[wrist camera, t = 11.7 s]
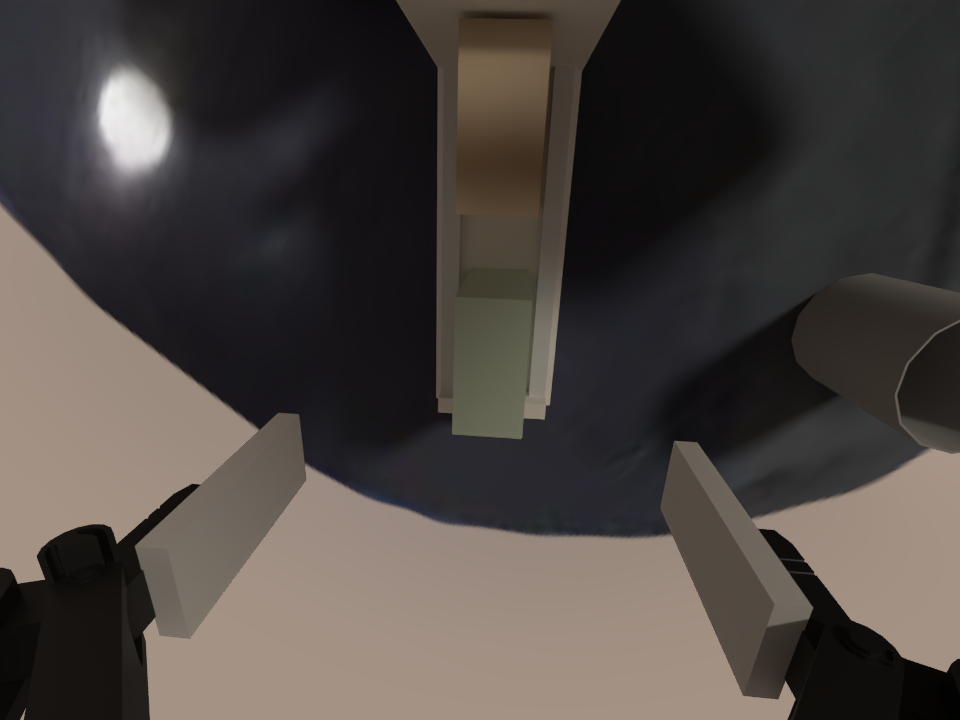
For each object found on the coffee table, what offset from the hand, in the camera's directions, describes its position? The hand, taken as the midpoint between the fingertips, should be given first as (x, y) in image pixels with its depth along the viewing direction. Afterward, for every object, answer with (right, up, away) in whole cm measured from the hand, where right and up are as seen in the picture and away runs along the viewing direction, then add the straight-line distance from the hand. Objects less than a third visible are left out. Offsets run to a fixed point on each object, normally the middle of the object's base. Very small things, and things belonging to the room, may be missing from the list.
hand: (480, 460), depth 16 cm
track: (+1, +12, +17) cm, 21 cm away
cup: (+27, +6, +18) cm, 33 cm away
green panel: (+1, +6, +18) cm, 19 cm away
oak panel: (+2, +18, +14) cm, 23 cm away
